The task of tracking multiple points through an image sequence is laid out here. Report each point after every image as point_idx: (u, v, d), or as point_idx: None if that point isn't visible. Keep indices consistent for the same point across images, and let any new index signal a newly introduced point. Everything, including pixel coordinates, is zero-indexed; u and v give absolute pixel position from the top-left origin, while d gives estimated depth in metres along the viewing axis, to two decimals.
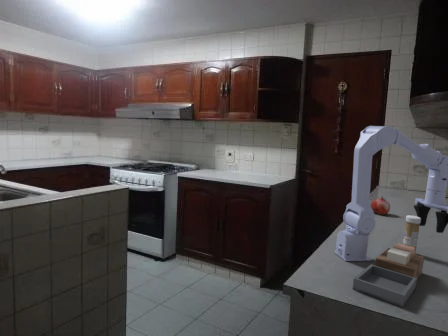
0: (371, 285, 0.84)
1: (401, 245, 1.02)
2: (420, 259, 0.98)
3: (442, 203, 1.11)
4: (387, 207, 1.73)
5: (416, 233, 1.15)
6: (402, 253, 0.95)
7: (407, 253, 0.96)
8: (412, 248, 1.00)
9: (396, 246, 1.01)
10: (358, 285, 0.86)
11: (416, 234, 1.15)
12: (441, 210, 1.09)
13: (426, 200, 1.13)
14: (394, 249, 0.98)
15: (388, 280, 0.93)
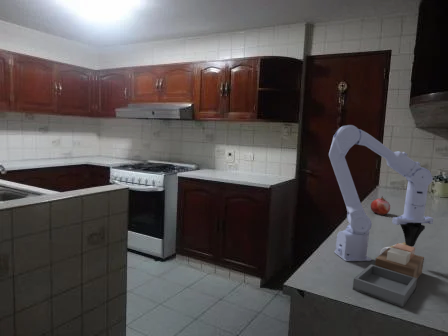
0: (371, 285, 0.84)
1: (401, 245, 1.02)
2: (420, 259, 0.98)
3: None
4: (387, 207, 1.73)
5: None
6: (402, 253, 0.95)
7: (407, 253, 0.96)
8: (412, 248, 1.00)
9: (396, 246, 1.01)
10: (358, 285, 0.86)
11: None
12: (416, 223, 1.05)
13: (419, 218, 1.03)
14: (394, 249, 0.98)
15: (388, 280, 0.93)
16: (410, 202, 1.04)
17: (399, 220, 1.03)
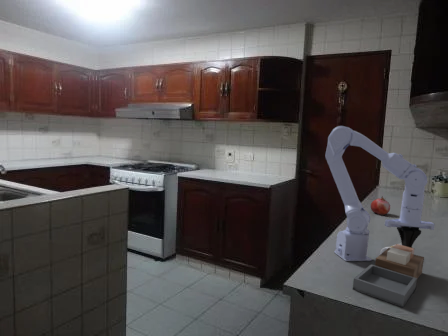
0: (371, 285, 0.84)
1: (400, 246, 1.02)
2: (420, 259, 0.98)
3: None
4: (387, 207, 1.73)
5: None
6: (402, 253, 0.95)
7: (407, 253, 0.95)
8: (411, 249, 0.99)
9: (395, 247, 1.00)
10: (358, 285, 0.86)
11: None
12: (412, 227, 1.02)
13: (413, 221, 1.00)
14: (394, 249, 0.98)
15: (388, 280, 0.93)
16: (404, 205, 1.01)
17: (390, 222, 1.01)
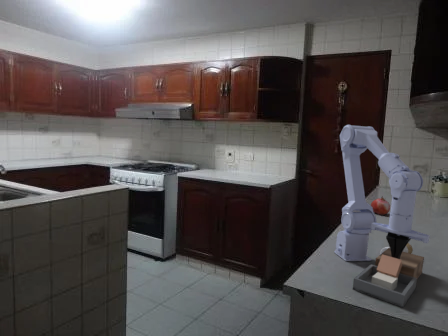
0: (371, 285, 0.84)
1: (386, 260, 0.92)
2: (420, 259, 0.98)
3: None
4: (387, 207, 1.73)
5: None
6: None
7: None
8: (397, 264, 0.90)
9: (380, 266, 0.92)
10: (358, 285, 0.86)
11: None
12: (399, 235, 0.92)
13: (394, 227, 0.91)
14: None
15: None
16: None
17: (374, 225, 0.97)
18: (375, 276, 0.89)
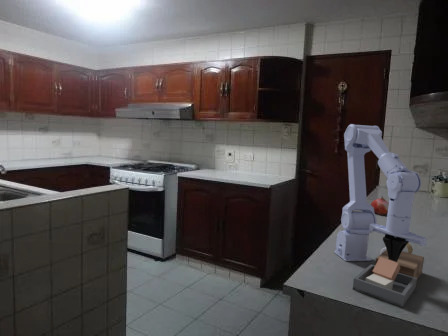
0: (371, 285, 0.84)
1: (383, 262, 0.91)
2: (420, 259, 0.98)
3: (408, 231, 0.89)
4: (387, 207, 1.73)
5: None
6: None
7: None
8: (394, 267, 0.89)
9: (376, 268, 0.91)
10: (358, 285, 0.86)
11: None
12: (396, 237, 0.90)
13: (390, 229, 0.90)
14: None
15: None
16: None
17: (372, 226, 0.95)
18: (369, 277, 0.88)
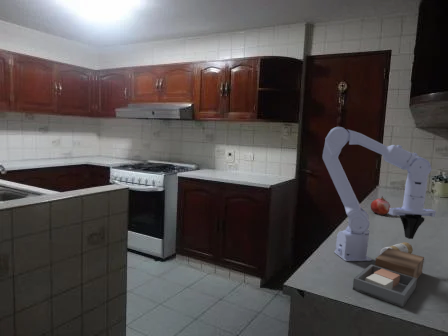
0: (371, 285, 0.84)
1: (384, 271, 0.93)
2: (420, 259, 0.98)
3: None
4: (387, 207, 1.73)
5: None
6: None
7: None
8: (396, 275, 0.90)
9: (378, 272, 0.92)
10: (358, 285, 0.86)
11: None
12: (415, 215, 1.03)
13: (417, 209, 1.00)
14: None
15: None
16: (408, 193, 1.02)
17: (395, 211, 1.01)
18: (369, 277, 0.88)
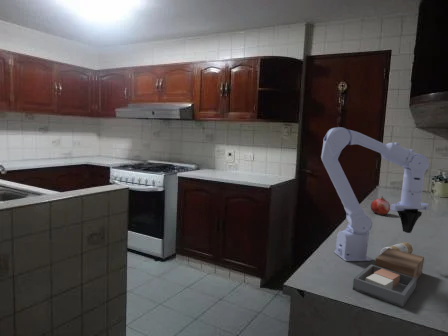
0: (371, 285, 0.84)
1: (384, 271, 0.93)
2: (420, 259, 0.98)
3: None
4: (387, 207, 1.73)
5: None
6: None
7: None
8: (396, 275, 0.90)
9: (378, 272, 0.92)
10: (358, 285, 0.86)
11: None
12: (413, 209, 1.06)
13: (416, 204, 1.03)
14: None
15: None
16: (407, 188, 1.04)
17: (397, 207, 1.03)
18: (369, 277, 0.88)
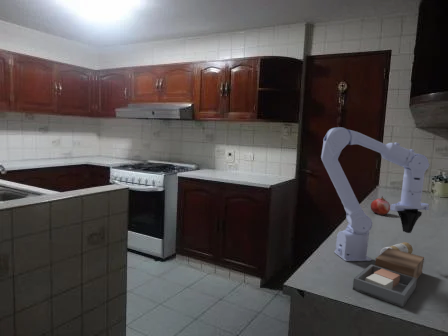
0: (371, 285, 0.84)
1: (384, 271, 0.93)
2: (420, 259, 0.98)
3: None
4: (387, 207, 1.73)
5: None
6: None
7: None
8: (396, 275, 0.90)
9: (378, 272, 0.92)
10: (358, 285, 0.86)
11: None
12: (413, 209, 1.06)
13: (416, 204, 1.03)
14: None
15: None
16: (407, 188, 1.04)
17: (397, 207, 1.03)
18: (369, 277, 0.88)
